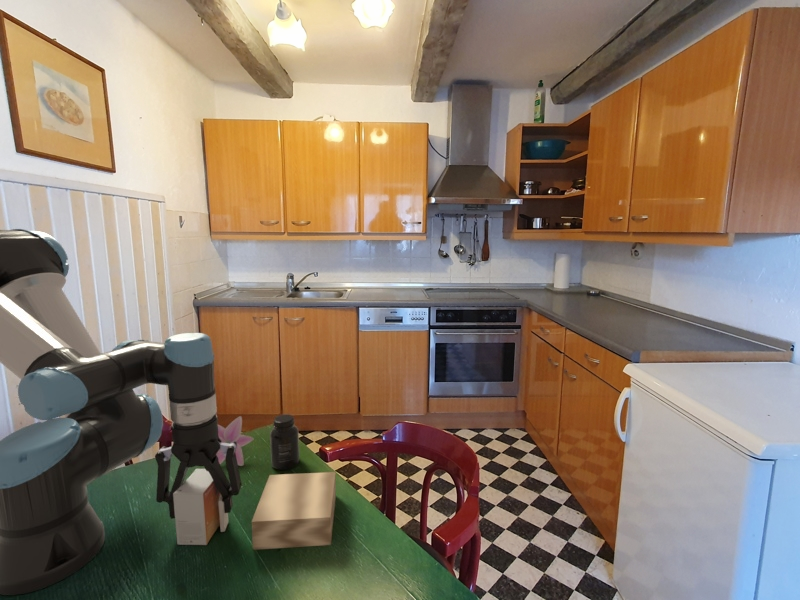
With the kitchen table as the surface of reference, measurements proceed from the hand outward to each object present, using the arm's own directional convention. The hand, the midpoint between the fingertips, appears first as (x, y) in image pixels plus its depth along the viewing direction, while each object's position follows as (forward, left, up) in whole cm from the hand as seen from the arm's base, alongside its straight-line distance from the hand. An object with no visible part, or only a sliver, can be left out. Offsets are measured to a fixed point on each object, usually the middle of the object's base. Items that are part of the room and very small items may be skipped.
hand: (203, 528), depth 75 cm
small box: (0, 0, 0) cm, 0 cm away
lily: (-2, +25, -1) cm, 25 cm away
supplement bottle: (+13, +21, 0) cm, 25 cm away
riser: (+18, 0, -1) cm, 18 cm away
